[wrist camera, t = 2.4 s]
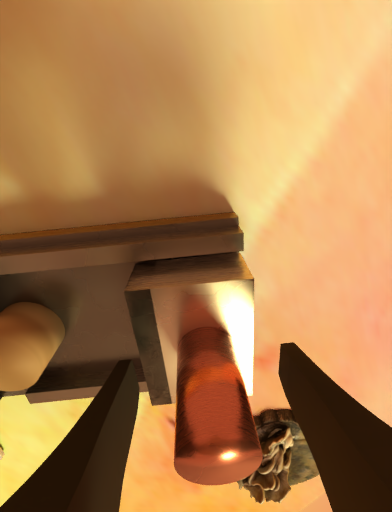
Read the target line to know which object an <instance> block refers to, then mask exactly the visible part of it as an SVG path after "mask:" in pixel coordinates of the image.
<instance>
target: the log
mask: <svg viewBox="0 0 392 512" xmlns="http://www.w3.org/2000/svg"><path fill="white" fill-rule="evenodd" d="M253 419H254V423H255V427H256V431H257V434H258V438H259V442H260V446H261V450H262V454H263V459H262V462H261V464H260V466H259V467H258V469H257V470H256V471H255V472H253V473H252V474H251V475H249V476H247V477H246V478H244V479H241V480H239V481H237V482H238V484H239V489H240V490H241V488H242V486H244V488H245V489H246V490H249V491H250V492H251V498H252V497H254V498H255V500H256V502H259V503H260V504H263V503H264V501H265V498H266V502H269V501H270V500H273V501H274V502H279V503H281V501H282V500H283V499H284V498H285V497H286V496H287V494H288V492H289V491H290V490H291V488H290V486H291V485H295V484H298V483H301V482H304V481H307V480H309V479H312V478H314V477H316V476H318V475H319V471H318V469H317V466H316V463H315V461H314V458H313V456H312V453H311V451H310V449H309V446H308V444H307V442H306V440H305V438H304V435H303V433H302V431H301V429H300V427H299V424H298V422H297V420H296V418H295V416H294V413H293V411H292V410H288V409H285V410H284V409H281V410H267V411H265V412H263V413H262V414H261V415H260V416H255V417H253ZM229 484H230V483H229Z"/></svg>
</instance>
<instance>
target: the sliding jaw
mask: <svg viewBox="0 0 392 512" xmlns="http://www.w3.org/2000/svg"><path fill="white" fill-rule="evenodd" d="M124 294H125V298H126V302H127V307H128V311H129V315H130V319H131V323H132V327H133V331H134V335H135V339H136V343H137V347H138V351H139V355H140V359H141V363H142V367H143V371H144V375H145V379H146V383H147V387H148V391H149V395H150V399H151V403H152V406H153V405H163V404H172V403H176V415H175V449H174V467H175V470H176V471H177V473H178V474H179V475H180V476H181V477H183V478H184V479H186V480H188V481H190V482H193V483H197V484H202V485H222V484H228V483H233V482H236V481H239V480H241V479H244V478H246V477H247V476H249V475H251V474H252V473H253V472H255V471H256V470H257V469H258V467H259V466H260V464H261V462H262V459H263V454H262V450H261V446H260V442H259V438H258V434H257V431H256V427H255V423H254V419H253V415H252V411H251V407H250V404H249V400H248V396H249V395H252V387H253V315H254V278H253V276H252V274H251V272H250V270H249V268H248V266H247V265H246V263H245V261H244V259H243V257H242V255H241V254H240V253H232V254H222V255H211V256H201V257H191V258H181V259H171V260H161V261H151V262H141V263H135V266H134V268H133V271H132V273H131V275H130V278H129V280H128V283H127V285H126V287H125V290H124Z"/></svg>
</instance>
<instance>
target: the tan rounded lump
mask: <svg viewBox="0 0 392 512" xmlns="http://www.w3.org/2000/svg"><path fill="white" fill-rule="evenodd" d="M64 336H65V328H64V324H63V322H62V321H61V319H60V318H59V317H58V315H57V314H55V313H54V312H53V311H52V310H50V309H49V308H47V307H45V306H42V305H40V304H36V303H31V302H19V303H14V304H12V305H9V306H8V307H6V308H5V309H4V310H3V311H2V312H1V313H0V391H20V390H24V389H26V388H29V387H31V386H32V385H34V384H35V383H36V382H37V380H38V379H39V377H40V376H41V374H42V372H43V371H44V369H45V368H46V366H47V364H48V363H49V361H50V360H51V358H52V357H53V355H54V353H55V352H56V350H57V349H58V347H59V345H60V344H61V342H62V341H63V339H64Z"/></svg>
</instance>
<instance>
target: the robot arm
mask: <svg viewBox="0 0 392 512" xmlns="http://www.w3.org/2000/svg"><path fill="white" fill-rule="evenodd" d="M279 377H280V380H281V383H282V386H283V389H284V392H285V395H286V398H287V400H288V402H289V404H290V407H291V409H292V411H293V413H294V416H295V418H296V420H297V422H298V424H299V427H300V429H301V431H302V433H303V435H304V438H305V440H306V442H307V444H308V446H309V449H310V451H311V453H312V456H313V458H314V461H315V463H316V466H317V469H318V471H319V474H320V477H321V480H322V482H323V485H324V488H325V491H326V494H327V496H328V499H329V502H330V505H331V508H332V511H333V512H392V427H390V426H389V425H387V424H386V423H385V422H383V421H382V420H380V419H379V418H378V417H376V416H375V415H374V414H373V413H371V412H370V411H369V410H367V409H366V408H365V407H364V406H362V405H361V404H360V403H359V402H357V401H356V400H355V399H354V398H352V397H351V396H350V395H349V394H348V393H347V392H345V391H344V390H343V389H342V388H341V387H340V386H338V385H337V384H336V383H335V382H334V381H333V380H332V379H331V378H330V377H329V376H327V375H326V374H325V373H324V372H323V371H322V370H321V369H320V368H319V367H318V366H317V365H316V364H315V363H314V362H313V361H312V360H311V359H310V358H309V357H308V356H307V355H306V354H305V353H304V352H303V351H302V350H301V349H300V348H299V347H298V346H297V345H296V344H295V343H284V344H281V348H280V361H279ZM139 390H140V388H139V384H138V380H137V376H136V373H135V369H134V365H133V361H132V359H127V360H119V361H118V362H117V364H116V365H115V367H114V369H113V370H112V372H111V373H110V375H109V377H108V378H107V380H106V381H105V383H104V384H103V386H102V387H101V389H100V390H99V392H98V393H97V395H96V396H95V398H94V399H93V401H92V402H91V404H90V405H89V406H88V408H87V409H86V411H85V412H84V413H83V415H82V416H81V417H80V419H79V420H78V421H77V423H76V424H75V425H74V427H73V428H72V429H71V430H70V432H69V433H68V434H67V435H66V437H65V438H64V439H63V440H62V442H61V443H60V444H59V445H58V446H57V448H56V449H55V450H54V451H53V452H52V453H51V455H50V456H49V457H48V458H47V459H46V460H45V461H44V462H43V463H42V465H41V466H40V467H39V468H38V469H37V470H36V471H35V472H34V473H33V474H32V476H31V477H30V478H29V479H28V480H27V481H26V482H25V483H24V484H23V485H22V486H21V487H20V488H19V489H18V490H17V491H16V492H15V493H14V494H13V495H12V496H11V497H10V498H9V499H8V500H7V501H6V502H5V503H4V504H3V505H2V506H1V507H0V512H119V506H120V499H121V491H122V484H123V478H124V472H125V467H126V462H127V458H128V453H129V448H130V444H131V439H132V434H133V430H134V425H135V420H136V415H137V409H138V401H139ZM3 456H4V452H3V450H2V449H1V448H0V460H1V459H2V458H3Z"/></svg>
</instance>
